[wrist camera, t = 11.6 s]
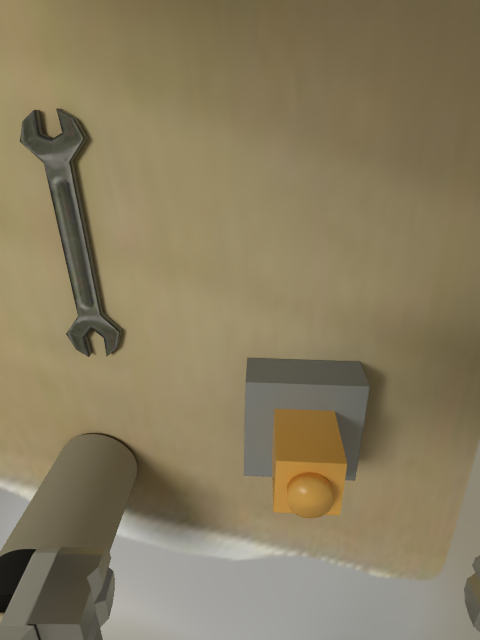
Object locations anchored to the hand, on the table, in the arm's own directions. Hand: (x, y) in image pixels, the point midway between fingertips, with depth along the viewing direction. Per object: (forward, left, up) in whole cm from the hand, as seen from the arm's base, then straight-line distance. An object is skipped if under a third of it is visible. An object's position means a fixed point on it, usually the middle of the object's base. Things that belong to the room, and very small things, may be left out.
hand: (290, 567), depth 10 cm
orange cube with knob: (+3, -16, -24) cm, 29 cm away
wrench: (-16, -1, -29) cm, 33 cm away
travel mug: (-17, -24, -28) cm, 40 cm away
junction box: (+3, -16, -28) cm, 32 cm away
